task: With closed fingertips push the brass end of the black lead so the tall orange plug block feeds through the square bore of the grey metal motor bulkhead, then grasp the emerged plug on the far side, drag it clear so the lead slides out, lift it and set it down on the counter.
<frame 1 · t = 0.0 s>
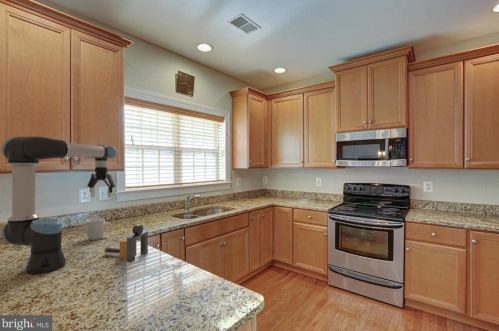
hand: (101, 197, 172), 28 cm above the countertop, fingers open, 13 cm apart
mug: (97, 238, 168), on the countertop
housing: (137, 256, 135), on the countertop
plug: (128, 256, 137), on the countertop
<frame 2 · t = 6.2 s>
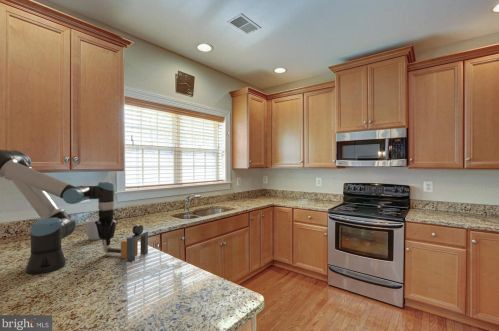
hand: (106, 250, 139), 2 cm above the countertop, fingers closed
plug: (129, 256, 136), on the countertop, touching gripper
everything else where it was.
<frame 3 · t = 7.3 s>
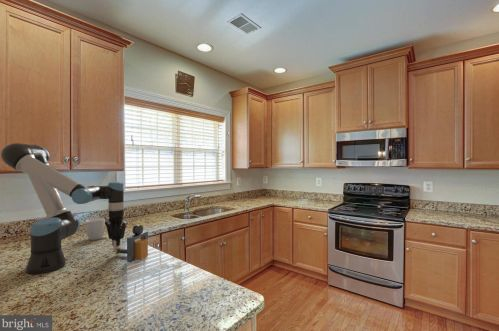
hand: (116, 251, 138), 2 cm above the countertop, fingers closed
plug: (139, 257, 135), on the countertop, touching gripper
everything else where it was.
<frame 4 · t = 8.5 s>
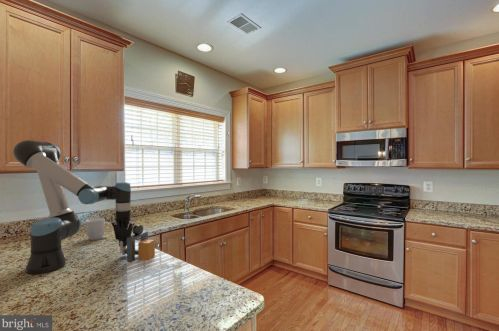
hand: (123, 252, 137), 2 cm above the countertop, fingers closed
plug: (146, 257, 134), on the countertop, touching gripper
everything else where it was.
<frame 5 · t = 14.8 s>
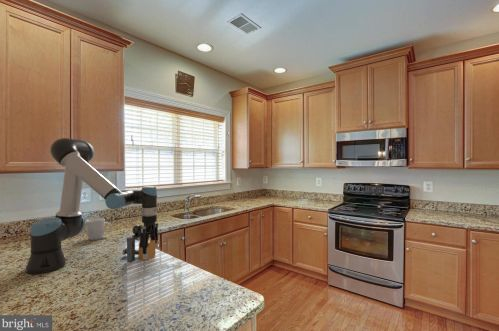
hand: (149, 257, 134), 0 cm above the countertop, fingers closed on plug, 6 cm apart
plug: (147, 257, 134), on the countertop, touching gripper
everything else where it was.
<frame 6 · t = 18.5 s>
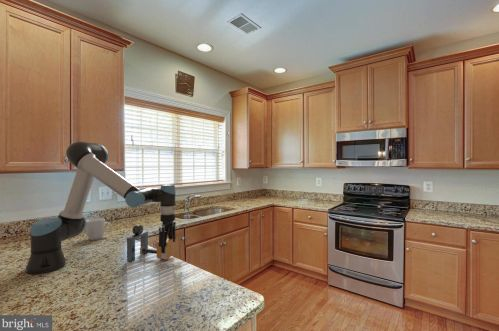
hand: (167, 256, 132), 2 cm above the countertop, fingers closed on plug, 6 cm apart
plug: (164, 256, 132), point 1 cm above the countertop, touching gripper
everything else where it was.
when the fingers open (1 cm above the countertop, at t = 22.4 s): plug stays where it is, on the countertop.
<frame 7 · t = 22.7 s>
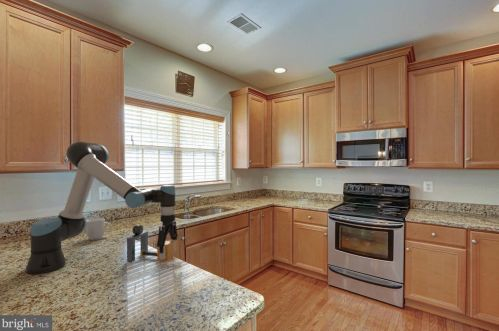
hand: (167, 255, 132), 2 cm above the countertop, fingers open, 10 cm apart
plug: (165, 259, 132), on the countertop
everything else where it was.
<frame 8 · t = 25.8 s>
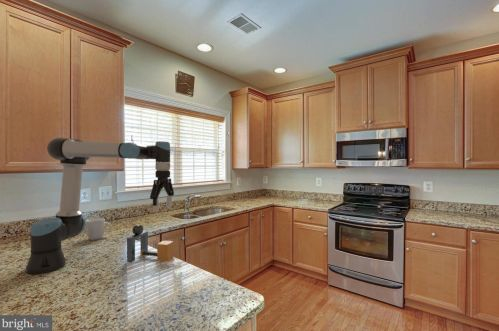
hand: (162, 209, 133), 27 cm above the countertop, fingers open, 13 cm apart
nothing on the countertop moved.
at the end: plug inside the target area (2.4 cm from its centre), on the countertop; the gripper is holding nothing; plug tilted 0° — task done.
